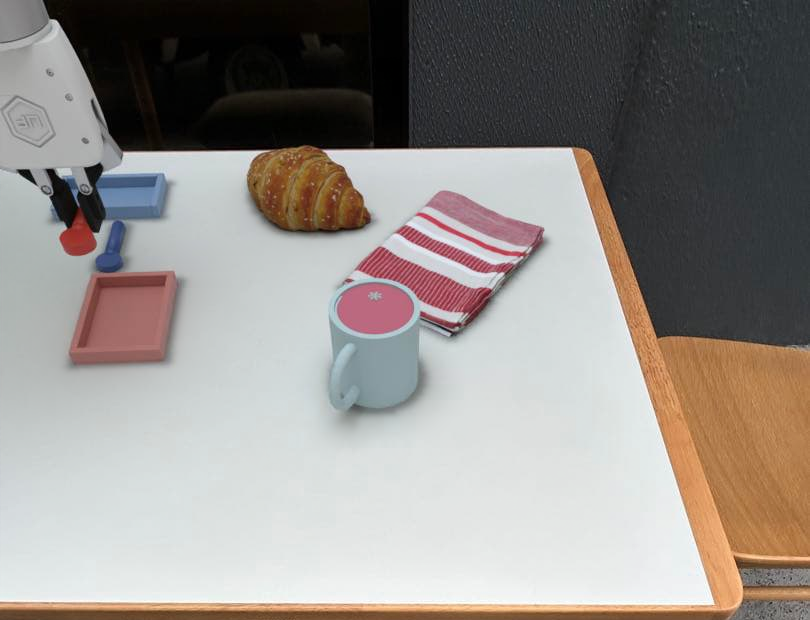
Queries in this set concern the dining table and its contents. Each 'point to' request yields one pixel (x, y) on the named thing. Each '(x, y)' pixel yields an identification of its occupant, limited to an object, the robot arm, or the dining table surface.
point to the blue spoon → (112, 250)
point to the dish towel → (452, 258)
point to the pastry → (305, 190)
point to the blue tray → (127, 194)
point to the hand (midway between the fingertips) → (87, 224)
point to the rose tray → (125, 318)
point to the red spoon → (78, 237)
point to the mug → (373, 343)
